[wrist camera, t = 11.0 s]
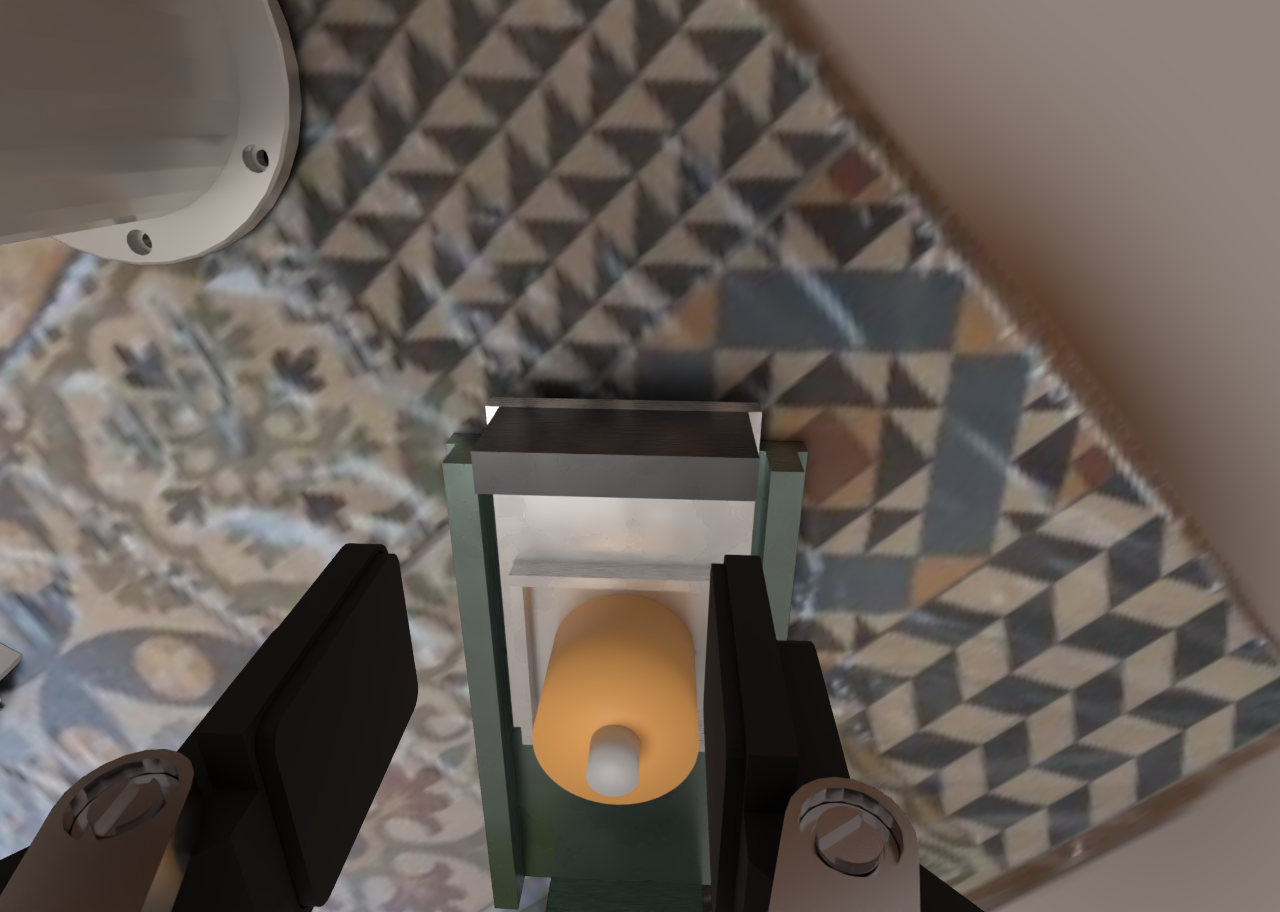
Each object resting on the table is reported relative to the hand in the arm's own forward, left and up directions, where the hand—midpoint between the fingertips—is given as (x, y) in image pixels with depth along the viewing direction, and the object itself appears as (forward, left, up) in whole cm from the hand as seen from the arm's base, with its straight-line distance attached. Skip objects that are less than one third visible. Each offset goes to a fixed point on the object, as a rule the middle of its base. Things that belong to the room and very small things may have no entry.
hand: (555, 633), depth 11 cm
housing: (+13, 0, -15) cm, 20 cm away
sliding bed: (+10, 0, -16) cm, 19 cm away
